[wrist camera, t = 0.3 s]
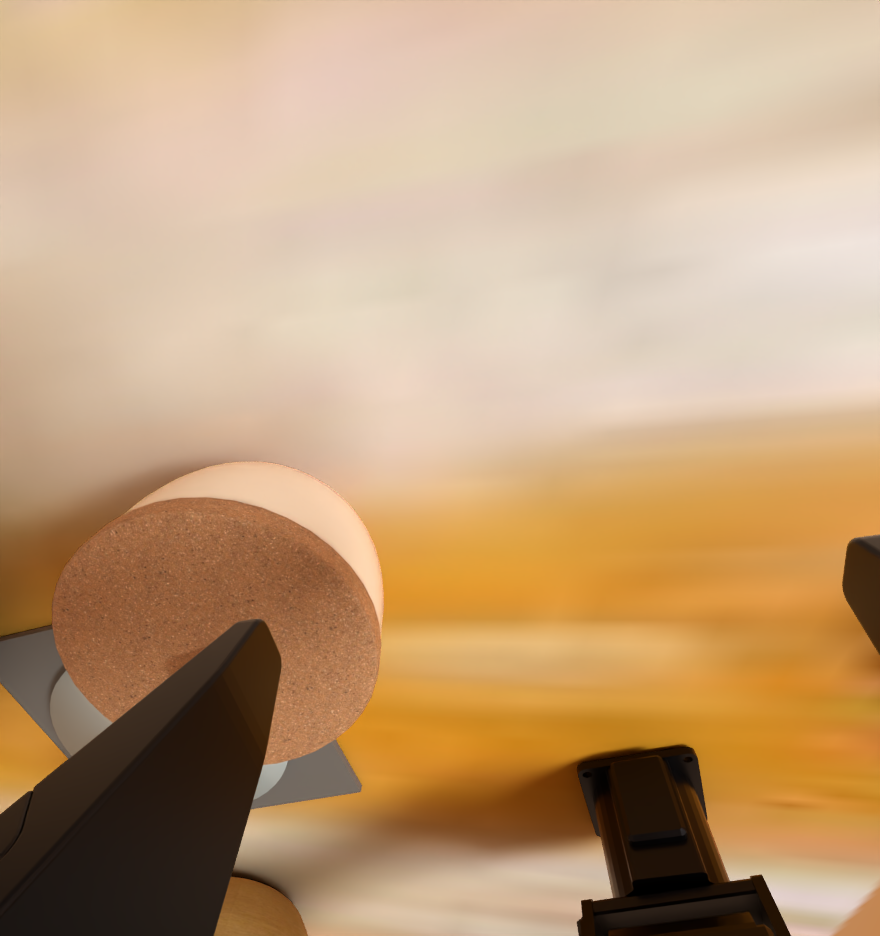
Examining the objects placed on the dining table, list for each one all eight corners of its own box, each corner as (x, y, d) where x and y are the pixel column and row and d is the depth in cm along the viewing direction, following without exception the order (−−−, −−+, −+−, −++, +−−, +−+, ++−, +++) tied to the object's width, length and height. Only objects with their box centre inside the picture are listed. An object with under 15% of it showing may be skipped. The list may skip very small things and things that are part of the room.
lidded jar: (146, 589, 27) (1, 763, 18) (185, 386, 23) (22, 487, 14) (359, 653, 28) (318, 843, 19) (432, 473, 24) (421, 613, 15)
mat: (361, 785, 34) (360, 791, 33) (133, 821, 36) (130, 828, 36) (244, 579, 27) (241, 584, 26) (-25, 642, 30) (-31, 648, 29)
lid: (328, 779, 33) (303, 881, 28) (138, 810, 35) (86, 909, 30) (227, 614, 27) (175, 706, 23) (10, 663, 30) (-78, 755, 25)
